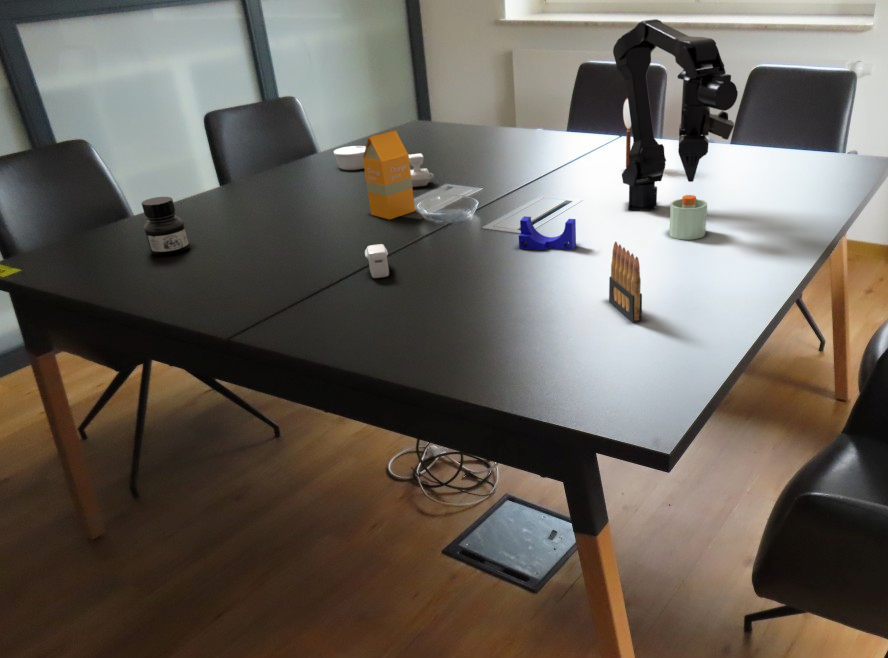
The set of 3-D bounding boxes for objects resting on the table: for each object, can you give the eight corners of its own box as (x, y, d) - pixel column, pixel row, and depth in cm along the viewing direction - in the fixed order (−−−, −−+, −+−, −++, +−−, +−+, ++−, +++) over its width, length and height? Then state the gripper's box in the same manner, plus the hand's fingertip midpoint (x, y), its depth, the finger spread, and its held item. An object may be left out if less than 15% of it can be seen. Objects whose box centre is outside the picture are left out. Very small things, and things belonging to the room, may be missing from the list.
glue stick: (680, 233, 186) (682, 198, 182) (680, 229, 188) (682, 194, 184) (694, 233, 185) (696, 198, 181) (693, 229, 188) (695, 194, 184)
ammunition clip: (608, 301, 156) (609, 240, 150) (617, 299, 157) (618, 239, 150) (632, 322, 148) (634, 259, 141) (641, 320, 148) (643, 257, 142)
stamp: (404, 189, 232) (400, 159, 228) (402, 183, 238) (398, 154, 233) (435, 186, 233) (432, 156, 229) (433, 180, 239) (430, 151, 234)
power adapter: (365, 262, 182) (361, 237, 179) (387, 260, 183) (384, 234, 180) (369, 280, 173) (365, 253, 170) (392, 277, 173) (388, 250, 170)
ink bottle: (151, 259, 192) (136, 209, 185) (147, 249, 198) (132, 200, 192) (194, 251, 195) (181, 201, 189) (189, 241, 202) (175, 192, 196)
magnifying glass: (635, 174, 233) (637, 99, 223) (629, 174, 233) (631, 100, 222) (625, 166, 240) (627, 94, 230) (620, 167, 240) (621, 95, 230)
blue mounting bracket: (519, 248, 185) (517, 222, 182) (525, 242, 188) (524, 216, 185) (570, 252, 181) (569, 225, 178) (576, 245, 185) (575, 219, 181)
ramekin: (379, 164, 259) (377, 147, 257) (355, 172, 252) (353, 155, 249) (353, 161, 265) (350, 144, 262) (329, 169, 257) (326, 152, 254)
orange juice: (415, 210, 214) (406, 131, 203) (389, 219, 209) (378, 138, 198) (396, 206, 219) (386, 128, 208) (370, 214, 213) (358, 135, 203)
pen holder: (669, 239, 184) (670, 208, 181) (669, 228, 191) (670, 198, 187) (705, 239, 183) (707, 208, 179) (704, 228, 190) (706, 198, 186)
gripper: (735, 111, 168) (729, 187, 176) (731, 94, 183) (725, 164, 192) (680, 112, 170) (676, 187, 178) (681, 95, 185) (677, 164, 194)
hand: (690, 175), depth 185 cm, fingers open, 9 cm apart
